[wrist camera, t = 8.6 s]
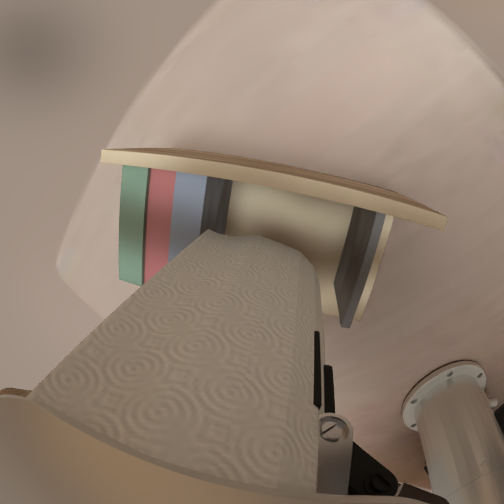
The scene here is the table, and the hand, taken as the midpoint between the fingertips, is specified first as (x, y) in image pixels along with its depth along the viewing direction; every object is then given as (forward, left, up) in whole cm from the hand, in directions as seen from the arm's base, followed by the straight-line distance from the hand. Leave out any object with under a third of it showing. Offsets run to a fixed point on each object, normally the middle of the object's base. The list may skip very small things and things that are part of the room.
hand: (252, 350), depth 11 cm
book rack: (+1, 0, -16) cm, 16 cm away
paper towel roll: (0, 0, -7) cm, 7 cm away
